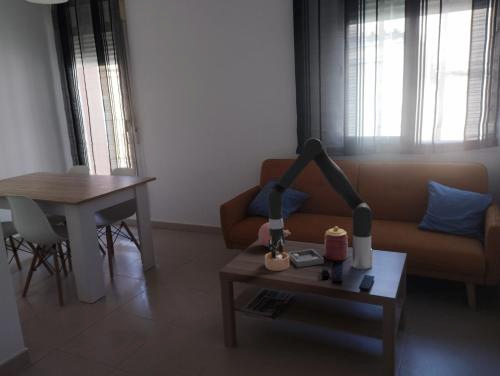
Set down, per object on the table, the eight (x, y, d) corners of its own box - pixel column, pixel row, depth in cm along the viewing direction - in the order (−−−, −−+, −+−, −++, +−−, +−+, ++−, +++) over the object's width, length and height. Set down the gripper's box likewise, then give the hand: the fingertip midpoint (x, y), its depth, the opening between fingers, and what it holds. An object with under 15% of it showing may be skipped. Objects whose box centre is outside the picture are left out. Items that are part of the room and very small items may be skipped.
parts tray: (312, 253, 235) (312, 248, 235) (323, 263, 221) (323, 258, 221) (288, 257, 232) (287, 252, 231) (297, 267, 218) (297, 262, 217)
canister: (347, 261, 222) (347, 230, 218) (323, 260, 225) (323, 229, 222) (348, 253, 234) (348, 223, 231) (325, 251, 238) (325, 222, 234)
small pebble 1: (298, 256, 231) (298, 253, 230) (298, 258, 228) (298, 255, 227) (292, 256, 231) (292, 253, 230) (293, 258, 228) (292, 255, 227)
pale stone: (280, 262, 223) (280, 253, 222) (283, 265, 219) (283, 256, 218) (271, 263, 222) (271, 254, 221) (274, 266, 217) (274, 258, 216)
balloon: (286, 253, 238) (285, 228, 235) (254, 249, 246) (253, 225, 243) (294, 244, 252) (294, 220, 248) (264, 241, 260) (263, 218, 257)
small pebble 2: (318, 259, 225) (318, 256, 225) (319, 261, 222) (319, 258, 221) (312, 259, 225) (312, 256, 225) (313, 262, 222) (313, 259, 221)
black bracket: (316, 272, 211) (316, 264, 210) (330, 272, 211) (330, 263, 210) (319, 283, 199) (319, 274, 198) (334, 282, 199) (334, 273, 198)
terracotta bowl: (284, 260, 228) (284, 250, 227) (292, 268, 216) (292, 258, 215) (262, 263, 225) (262, 253, 224) (269, 272, 213) (269, 261, 212)
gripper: (275, 221, 224) (276, 250, 227) (263, 229, 212) (264, 259, 215) (288, 223, 220) (289, 251, 223) (276, 230, 208) (277, 261, 211)
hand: (277, 255), depth 219 cm, fingers open, 8 cm apart
